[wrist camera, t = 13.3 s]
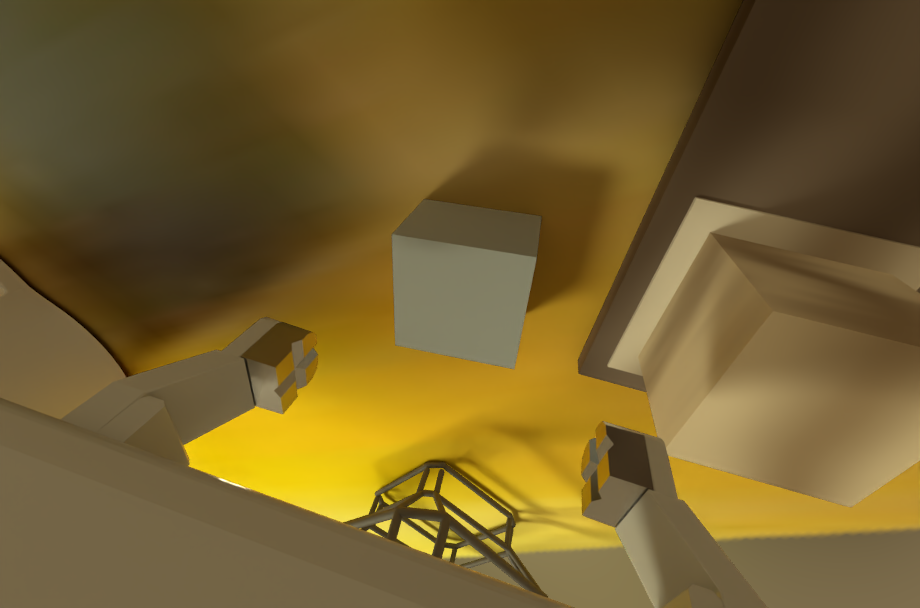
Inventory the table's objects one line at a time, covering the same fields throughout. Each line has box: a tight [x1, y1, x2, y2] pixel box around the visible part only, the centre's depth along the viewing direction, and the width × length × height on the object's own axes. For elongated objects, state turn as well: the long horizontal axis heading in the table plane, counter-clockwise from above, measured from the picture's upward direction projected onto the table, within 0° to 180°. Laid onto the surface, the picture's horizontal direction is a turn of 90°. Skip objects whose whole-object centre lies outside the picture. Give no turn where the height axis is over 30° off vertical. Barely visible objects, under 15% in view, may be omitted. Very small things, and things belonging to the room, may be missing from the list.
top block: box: [392, 199, 542, 369], centre depth 16 cm, size 5×5×4 cm
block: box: [638, 233, 920, 507], centre depth 13 cm, size 6×6×5 cm
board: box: [578, 0, 920, 392], centre depth 12 cm, size 13×22×1 cm, turn 171°
